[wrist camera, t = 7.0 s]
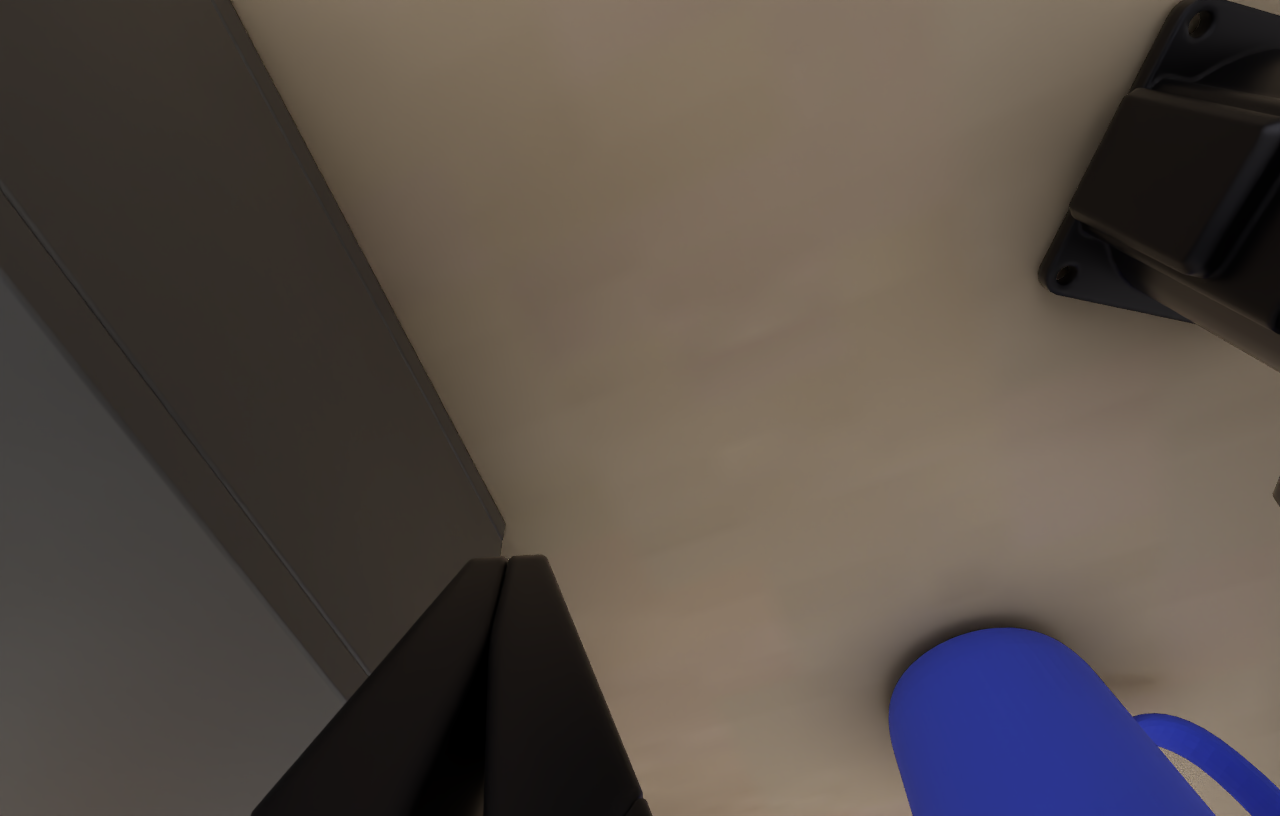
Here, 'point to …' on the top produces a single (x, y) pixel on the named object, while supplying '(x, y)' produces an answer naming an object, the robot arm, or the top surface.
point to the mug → (1046, 738)
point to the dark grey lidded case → (193, 424)
